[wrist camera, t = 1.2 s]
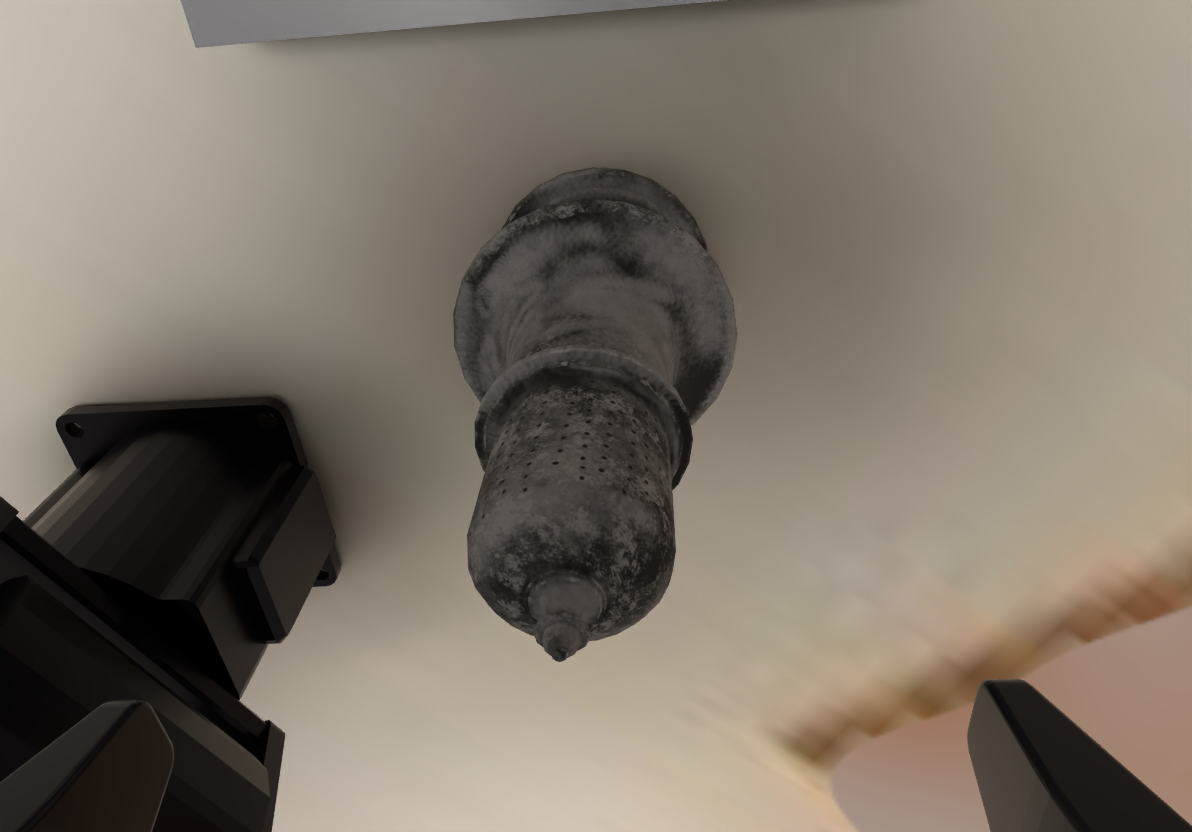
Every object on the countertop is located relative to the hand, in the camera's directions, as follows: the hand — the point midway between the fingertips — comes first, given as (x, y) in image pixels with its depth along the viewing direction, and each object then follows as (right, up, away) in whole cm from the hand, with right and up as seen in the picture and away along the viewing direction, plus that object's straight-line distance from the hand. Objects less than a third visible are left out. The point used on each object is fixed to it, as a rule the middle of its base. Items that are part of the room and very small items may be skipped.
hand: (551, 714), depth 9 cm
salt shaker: (+1, +7, +11) cm, 13 cm away
